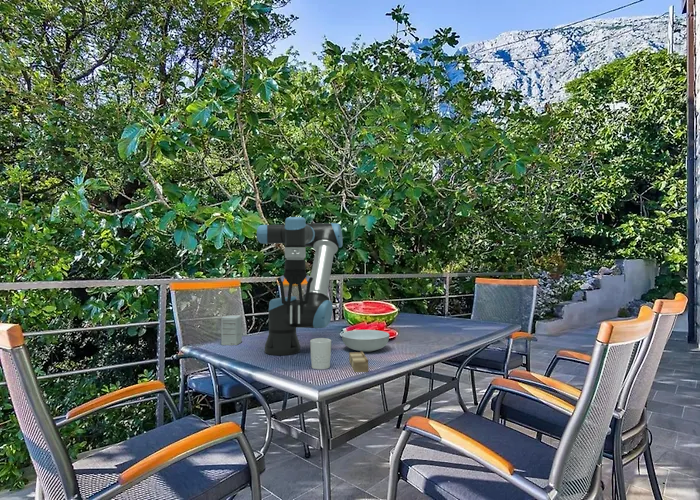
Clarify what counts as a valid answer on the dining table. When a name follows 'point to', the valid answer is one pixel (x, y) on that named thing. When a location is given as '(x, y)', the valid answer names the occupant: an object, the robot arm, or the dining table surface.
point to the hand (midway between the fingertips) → (295, 323)
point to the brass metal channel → (358, 361)
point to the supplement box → (231, 330)
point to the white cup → (320, 353)
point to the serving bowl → (365, 340)
